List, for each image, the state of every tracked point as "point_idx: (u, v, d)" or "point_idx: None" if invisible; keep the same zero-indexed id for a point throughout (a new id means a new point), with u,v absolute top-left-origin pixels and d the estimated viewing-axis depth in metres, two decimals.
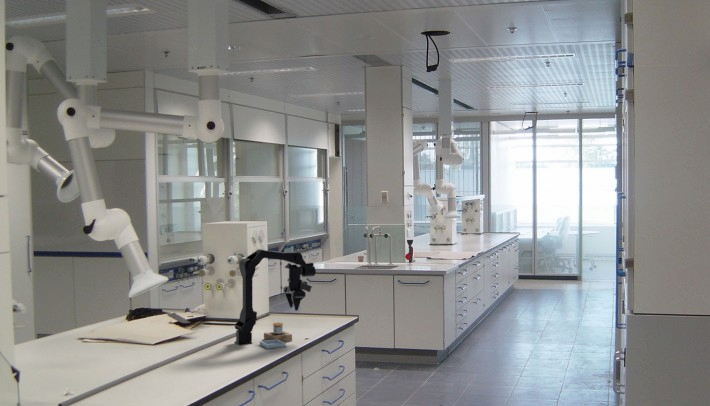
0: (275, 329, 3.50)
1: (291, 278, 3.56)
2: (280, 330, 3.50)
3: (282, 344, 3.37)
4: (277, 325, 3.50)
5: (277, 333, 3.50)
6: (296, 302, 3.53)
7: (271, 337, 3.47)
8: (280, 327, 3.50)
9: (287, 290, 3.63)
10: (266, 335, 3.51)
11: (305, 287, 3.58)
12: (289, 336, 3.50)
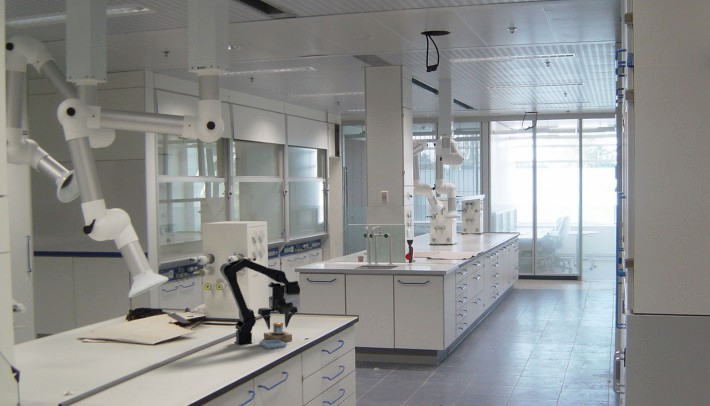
0: (275, 329, 3.50)
1: None
2: (280, 330, 3.50)
3: (282, 344, 3.37)
4: (277, 325, 3.50)
5: (277, 333, 3.50)
6: (266, 320, 3.49)
7: (271, 337, 3.47)
8: (280, 327, 3.50)
9: None
10: (266, 335, 3.51)
11: (278, 308, 3.46)
12: (289, 336, 3.50)
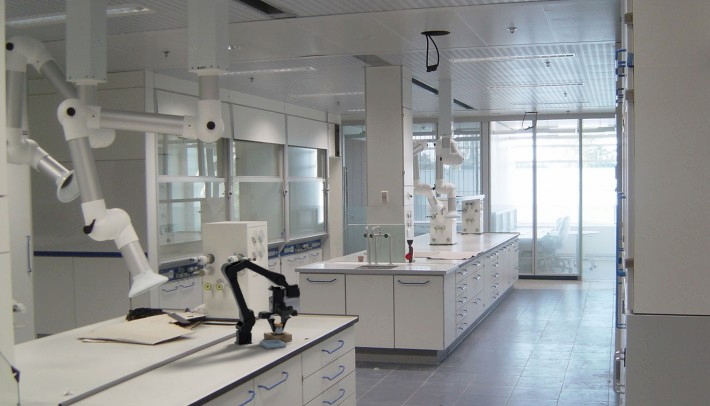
0: (275, 329, 3.50)
1: None
2: (280, 330, 3.50)
3: (282, 344, 3.37)
4: (277, 325, 3.50)
5: (277, 333, 3.50)
6: (270, 323, 3.50)
7: (271, 337, 3.47)
8: (280, 327, 3.50)
9: None
10: (266, 335, 3.51)
11: (278, 311, 3.46)
12: (289, 336, 3.50)
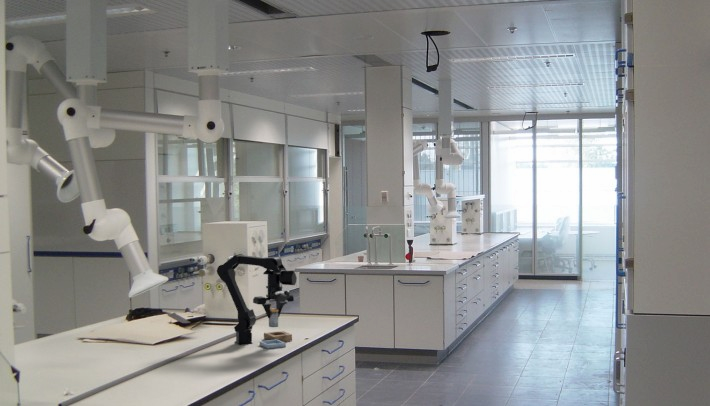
0: (271, 315, 3.38)
1: None
2: (276, 316, 3.38)
3: (282, 344, 3.37)
4: (273, 311, 3.37)
5: (273, 319, 3.38)
6: (266, 309, 3.38)
7: (271, 337, 3.47)
8: (276, 313, 3.38)
9: None
10: (266, 335, 3.51)
11: (274, 296, 3.34)
12: (289, 336, 3.50)
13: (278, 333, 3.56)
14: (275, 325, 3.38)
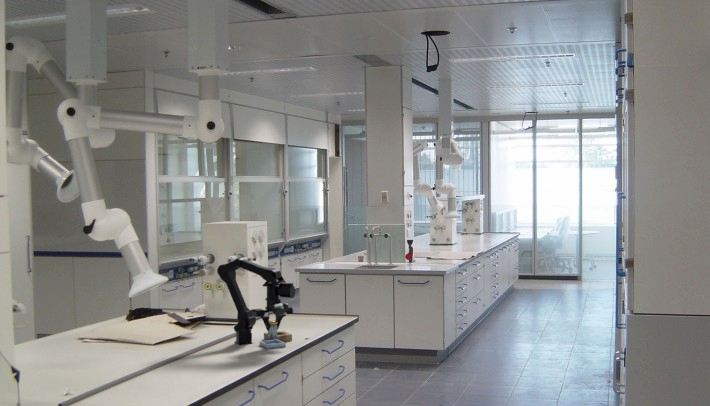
0: (270, 327, 3.37)
1: None
2: (275, 328, 3.37)
3: (282, 344, 3.37)
4: (272, 323, 3.36)
5: (272, 331, 3.37)
6: (265, 321, 3.37)
7: None
8: (275, 325, 3.37)
9: None
10: (266, 335, 3.51)
11: (272, 308, 3.33)
12: (289, 336, 3.50)
13: (278, 333, 3.56)
14: (274, 337, 3.37)
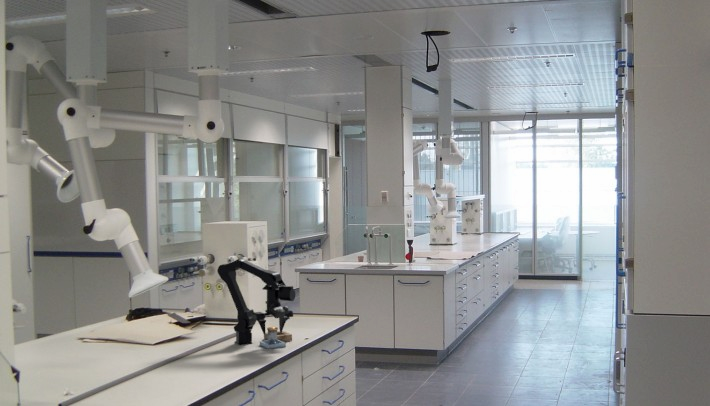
0: (269, 334, 3.37)
1: None
2: (275, 335, 3.37)
3: (282, 344, 3.37)
4: (271, 329, 3.36)
5: (271, 338, 3.37)
6: (261, 325, 3.36)
7: None
8: (275, 332, 3.37)
9: None
10: (266, 335, 3.51)
11: (272, 312, 3.33)
12: (289, 336, 3.50)
13: (278, 333, 3.56)
14: None
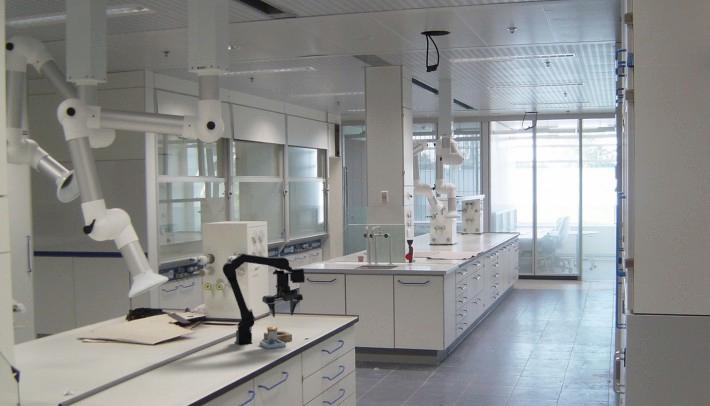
0: (269, 334, 3.37)
1: None
2: (274, 335, 3.37)
3: (282, 344, 3.37)
4: (271, 329, 3.37)
5: (271, 338, 3.37)
6: (271, 308, 3.45)
7: None
8: (274, 331, 3.37)
9: None
10: (266, 335, 3.51)
11: (282, 295, 3.42)
12: (289, 336, 3.50)
13: (278, 333, 3.56)
14: None
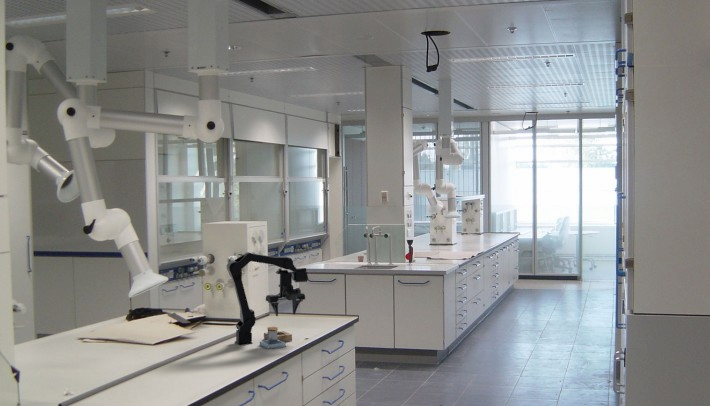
0: (269, 333, 3.37)
1: None
2: (275, 335, 3.37)
3: (282, 344, 3.37)
4: (271, 329, 3.37)
5: (271, 338, 3.37)
6: (274, 307, 3.49)
7: None
8: (275, 331, 3.37)
9: None
10: (266, 335, 3.51)
11: (285, 294, 3.46)
12: (289, 336, 3.50)
13: (278, 333, 3.56)
14: None
